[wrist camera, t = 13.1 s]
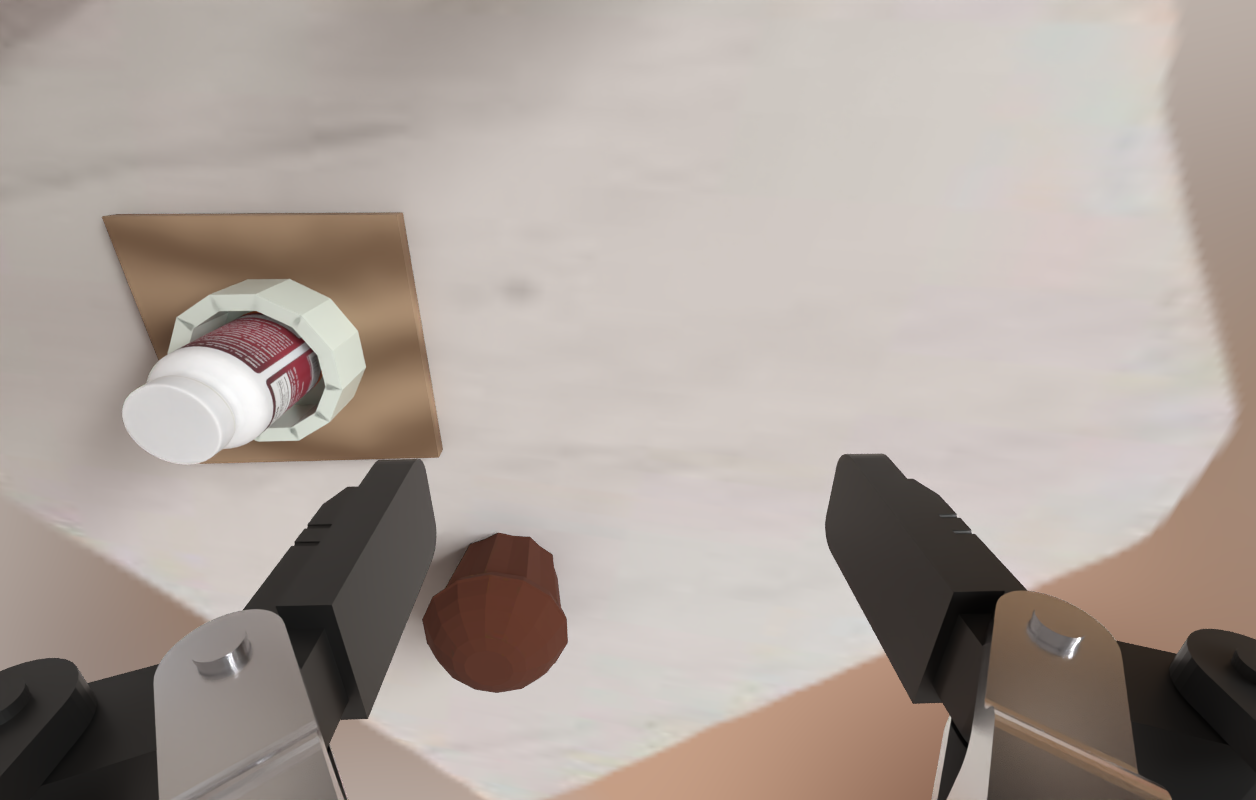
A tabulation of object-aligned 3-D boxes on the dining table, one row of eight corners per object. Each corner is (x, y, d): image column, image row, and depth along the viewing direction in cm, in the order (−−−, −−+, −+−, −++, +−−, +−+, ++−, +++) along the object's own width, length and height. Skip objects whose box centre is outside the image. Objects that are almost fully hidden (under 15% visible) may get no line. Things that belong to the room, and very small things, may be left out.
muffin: (419, 547, 48) (377, 642, 39) (531, 501, 46) (515, 589, 37) (488, 634, 52) (465, 736, 43) (592, 595, 51) (591, 693, 42)
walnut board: (117, 214, 35) (101, 216, 34) (402, 212, 36) (396, 214, 35) (209, 455, 43) (199, 463, 42) (442, 449, 43) (438, 457, 42)
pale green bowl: (190, 280, 36) (144, 295, 32) (346, 278, 36) (318, 293, 33) (237, 415, 40) (201, 443, 36) (376, 412, 40) (354, 439, 37)
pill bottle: (214, 328, 37) (72, 398, 27) (291, 291, 36) (173, 349, 26) (276, 404, 39) (167, 493, 29) (349, 370, 38) (262, 451, 29)
